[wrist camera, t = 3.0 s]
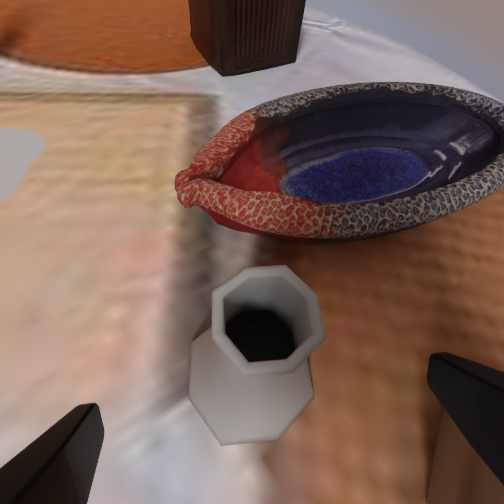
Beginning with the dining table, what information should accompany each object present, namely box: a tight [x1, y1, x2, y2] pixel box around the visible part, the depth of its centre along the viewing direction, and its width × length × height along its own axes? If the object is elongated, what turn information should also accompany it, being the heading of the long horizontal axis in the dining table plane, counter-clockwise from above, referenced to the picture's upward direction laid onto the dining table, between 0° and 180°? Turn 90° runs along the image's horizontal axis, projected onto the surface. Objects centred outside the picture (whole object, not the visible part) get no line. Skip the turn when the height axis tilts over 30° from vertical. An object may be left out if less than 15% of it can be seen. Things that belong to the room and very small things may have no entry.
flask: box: [188, 265, 326, 446], centre depth 12 cm, size 7×7×10 cm
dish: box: [175, 82, 504, 244], centre depth 23 cm, size 16×31×5 cm, turn 108°
